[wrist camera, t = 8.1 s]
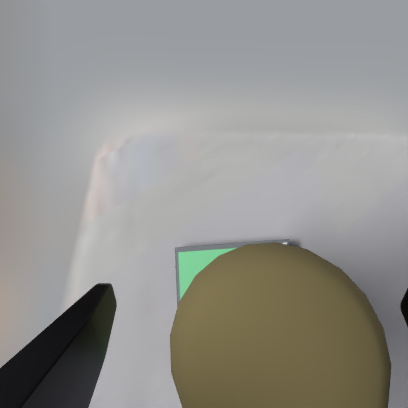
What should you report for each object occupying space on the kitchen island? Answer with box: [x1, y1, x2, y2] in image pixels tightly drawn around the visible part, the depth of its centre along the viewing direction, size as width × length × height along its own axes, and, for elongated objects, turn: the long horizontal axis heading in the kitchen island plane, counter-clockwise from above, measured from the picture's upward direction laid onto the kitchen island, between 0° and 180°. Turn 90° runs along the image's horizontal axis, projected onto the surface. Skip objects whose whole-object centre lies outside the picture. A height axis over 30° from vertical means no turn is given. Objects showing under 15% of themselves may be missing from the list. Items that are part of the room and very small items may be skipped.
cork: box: [170, 242, 391, 408], centre depth 11 cm, size 6×6×11 cm
